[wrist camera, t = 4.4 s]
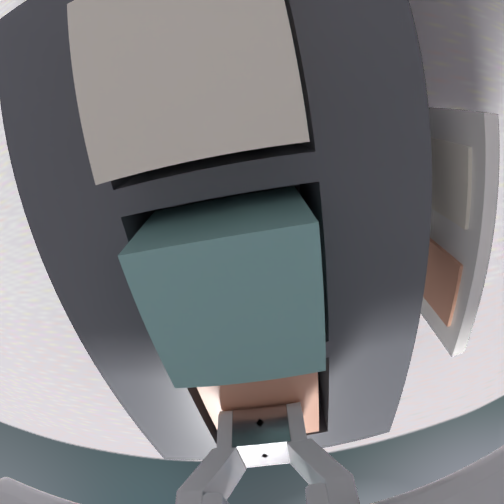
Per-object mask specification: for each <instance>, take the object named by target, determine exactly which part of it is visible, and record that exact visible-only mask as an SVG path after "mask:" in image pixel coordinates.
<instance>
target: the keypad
mask: <svg viewBox="0 0 504 504" xmlns="http://www.w3.org/2000/svg"><path fill="white" fill-rule="evenodd" d="M72 1H74V0H27V1H25V2H24V3H22V4H21V5H19V6H18V7H16V8H15V9H13V10H12V11H11V12H9V13H8V14H6V15H5V16H4V17H2V18H1V19H0V102H1V110H2V117H3V124H4V130H5V135H6V141H7V146H8V151H9V155H10V160H11V164H12V168H13V172H14V176H15V180H16V184H17V188H18V191H19V195H20V198H21V202H22V205H23V208H24V211H25V214H26V217H27V220H28V223H29V226H30V229H31V232H32V235H33V238H34V240H35V243H36V246H37V248H38V251H39V254H40V256H41V259H42V261H43V263H44V266H45V268H46V271H47V273H48V275H49V278H50V280H51V282H52V284H53V287H54V289H55V291H56V293H57V295H58V297H59V299H60V302H61V304H62V306H63V308H64V310H65V312H66V314H67V316H68V318H69V320H70V321H71V323H72V325H73V327H74V329H75V331H76V333H77V335H78V336H79V338H80V340H81V342H82V344H83V345H84V347H85V349H86V350H87V352H88V354H89V356H90V357H91V359H92V361H93V362H94V364H95V365H96V367H97V369H98V370H99V372H100V373H101V375H102V377H103V378H104V380H105V381H106V383H107V384H108V386H109V387H110V389H111V390H112V392H113V393H114V395H115V396H116V398H117V399H118V400H119V402H120V403H121V405H122V406H123V407H124V409H125V410H126V412H127V413H128V414H129V416H130V417H131V418H132V420H133V421H134V422H135V424H136V425H137V426H138V428H139V429H140V430H141V431H142V433H143V434H144V435H145V436H146V438H147V439H148V440H149V441H150V443H151V444H152V445H153V446H154V447H155V449H156V450H157V451H158V452H159V453H160V454H161V456H162V457H163V458H164V459H169V460H204V458H205V457H206V456H207V455H208V454H209V452H210V451H211V450H212V449H214V448H216V446H217V429H216V427H215V425H214V423H213V421H212V419H211V417H210V415H209V413H208V411H207V409H206V406H205V404H204V402H203V400H202V398H201V396H200V394H199V391H198V389H197V387H192V388H175V387H174V385H173V383H172V382H171V380H170V378H169V376H168V374H167V372H166V370H165V368H164V365H163V363H162V361H161V359H160V357H159V355H158V353H157V351H156V349H155V347H154V344H153V342H152V340H151V338H150V336H149V333H148V331H147V329H146V327H145V324H144V322H143V320H142V317H141V315H140V313H139V310H138V308H137V305H136V303H135V300H134V298H133V295H132V293H131V290H130V288H129V285H128V283H127V280H126V277H125V275H124V272H123V269H122V267H121V264H120V261H119V258H118V255H119V254H120V252H121V251H122V250H123V249H124V247H125V246H126V245H127V244H128V242H129V241H130V240H131V239H132V238H133V236H134V235H135V234H136V233H137V232H138V230H139V229H140V228H141V227H142V226H143V224H144V223H145V222H146V221H147V220H148V219H149V217H150V216H151V215H152V214H153V213H154V212H155V211H156V210H161V209H166V208H171V207H176V206H181V205H186V204H191V203H196V202H202V201H207V200H212V199H218V198H223V197H229V196H235V195H241V194H247V193H253V192H259V191H265V190H272V189H278V188H285V187H292V186H295V188H296V189H297V191H298V192H299V194H300V195H301V197H302V198H303V200H304V201H305V202H306V204H307V205H308V207H309V208H310V210H311V211H312V213H313V214H314V216H315V217H316V219H317V220H318V222H319V232H320V244H321V258H322V273H323V290H324V312H325V343H326V371H321V372H318V395H319V431H317V432H311V433H306V435H307V439H309V438H312V439H313V440H314V441H315V442H316V443H317V444H318V445H319V446H320V447H321V448H325V447H330V446H335V445H340V444H344V443H349V442H353V441H357V440H361V439H365V438H369V437H373V436H376V435H380V434H383V433H387V432H389V431H390V428H391V425H392V423H393V420H394V417H395V414H396V410H397V407H398V404H399V401H400V397H401V394H402V391H403V387H404V384H405V380H406V376H407V372H408V369H409V365H410V361H411V356H412V352H413V348H414V343H415V339H416V334H417V329H418V324H419V318H420V313H421V314H422V316H423V317H424V318H425V320H426V321H427V323H428V324H429V325H430V327H431V328H432V330H433V331H434V332H435V334H436V335H437V337H438V338H439V339H440V341H441V342H442V344H443V345H444V347H445V348H446V350H447V351H448V352H449V354H450V355H451V357H453V356H456V355H459V354H461V353H464V351H465V349H466V346H467V343H468V340H469V337H470V334H471V331H472V327H473V324H474V321H475V317H476V314H477V310H478V307H479V303H480V299H481V295H482V291H483V287H484V283H485V278H486V274H487V269H488V264H489V259H490V253H491V247H492V241H493V234H494V227H495V219H496V210H497V199H498V185H499V119H498V114H494V113H487V112H478V111H469V110H458V109H445V108H428V98H427V90H426V83H425V76H424V69H423V63H422V58H421V52H420V47H419V42H418V37H417V33H416V28H415V24H414V20H413V16H412V12H411V8H410V5H409V1H408V0H284V1H285V6H286V10H287V15H288V19H289V24H290V29H291V33H292V38H293V43H294V48H295V54H296V59H297V64H298V70H299V75H300V81H301V87H302V93H303V99H304V106H305V112H306V119H307V126H308V133H309V140H310V142H303V143H295V144H287V145H280V146H273V147H266V148H260V149H253V150H247V151H241V152H236V153H230V154H225V155H219V156H214V157H209V158H204V159H199V160H194V161H189V162H185V163H180V164H176V165H171V166H167V167H163V168H158V169H154V170H150V171H146V172H142V173H138V174H134V175H131V176H127V177H123V178H119V179H116V180H112V181H109V182H105V183H102V184H98V185H95V181H94V177H93V173H92V169H91V165H90V161H89V157H88V153H87V149H86V144H85V140H84V135H83V130H82V125H81V120H80V115H79V109H78V104H77V98H76V92H75V85H74V78H73V71H72V63H71V54H70V44H69V33H68V17H67V4H68V3H70V2H72Z"/></svg>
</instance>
